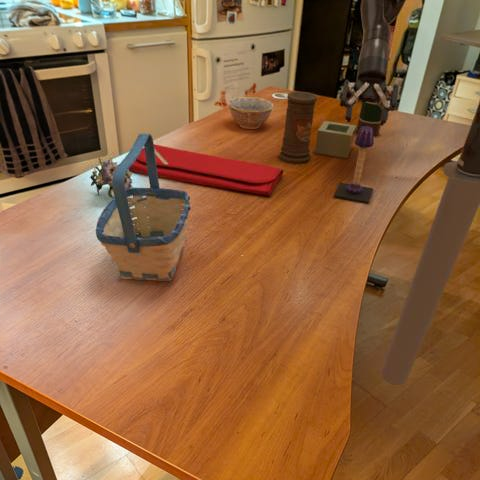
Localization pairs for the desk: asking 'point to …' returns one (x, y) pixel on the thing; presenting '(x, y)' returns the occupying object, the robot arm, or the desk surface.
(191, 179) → the dish drying mat
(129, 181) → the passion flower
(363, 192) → the mat
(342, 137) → the holder
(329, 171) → the desk surface
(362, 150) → the toy lamp
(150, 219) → the basket
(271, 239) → the desk surface
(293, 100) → the container
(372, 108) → the beer bottle
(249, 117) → the bowl
